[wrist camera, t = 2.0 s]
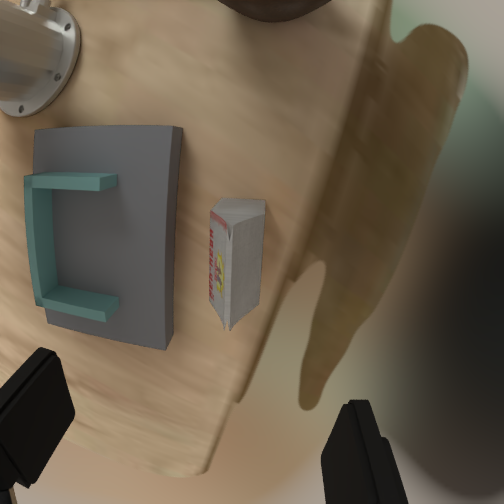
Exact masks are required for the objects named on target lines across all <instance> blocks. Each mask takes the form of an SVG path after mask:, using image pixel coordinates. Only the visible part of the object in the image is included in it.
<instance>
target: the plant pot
mask: <svg viewBox="0 0 504 504" xmlns="http://www.w3.org/2000/svg"><path fill="white" fill-rule="evenodd" d="M218 1H219V2H221V3H223V4H224V5H226V6H228V7H229V8H231V9H233V10H235V11H237V12H239V13H241V14H243V15H245V16H247V17H250V18H252V19H256V20H259V21H264V22H284V21H288V20H292V19H295V18H298V17H300V16H303V15H305V14H307V13H309V12H311V11H313V10H315V9H317V8H319V7H321V6H323V5H324V4H326V3H328V2H329V1H331V0H218Z"/></svg>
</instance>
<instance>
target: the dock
mask: <svg viewBox="0 0 504 504" xmlns="http://www.w3.org/2000/svg"><path fill="white" fill-rule="evenodd" d="M182 130H183V128H180V127H175V126H159V125H108V126H80V127H63V128H50V129H39V130H35V135H34V154H33V174H32V175H27V176H24V204H25V223H26V236H27V247H28V256H29V264H30V272H31V279H32V285H33V291H34V297H35V302H36V305H37V306H40V307H44V308H45V312H46V317H47V322H48V323H49V324H52V325H56V326H59V327H63V328H67V329H70V330H74V331H78V332H82V333H86V334H90V335H94V336H98V337H103V338H107V339H111V340H116V341H120V342H125V343H130V344H134V345H139V346H144V347H149V348H155V349H160V350H166V349H167V347H168V345H169V343H170V340H171V338H172V336H173V288H174V248H175V224H176V205H177V189H178V175H179V163H180V151H181V140H182Z"/></svg>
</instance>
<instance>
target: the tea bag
mask: <svg viewBox="0 0 504 504" xmlns="http://www.w3.org/2000/svg"><path fill="white" fill-rule="evenodd" d="M264 222H265V200H255V199H238V198H221V199H220V201H219V202H218V203H217V204H216V205H215V206H214V207H213V208H212V209H211V210H210V267H209V301H210V302H211V304H212V306H213V307H214V309H215V310H216V312H217V313H218V315H219V317H220V319H221V321H222V323H223V327H224V330H225V326H226V322H227V320H228V325H229V330H231V329H232V327H233V326H234V325H235V324H236V323H237V322H238V321H239V320H240V319H241V318H242V317H244V316H245V315H246V314H247V313H249V312H250V311H251V310H252V309H254V308H255V307H256V306H257V305H259V296H260V282H261V267H262V252H263V237H264Z"/></svg>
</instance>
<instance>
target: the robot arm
mask: <svg viewBox="0 0 504 504" xmlns="http://www.w3.org/2000/svg"><path fill="white" fill-rule="evenodd" d="M50 5H51V1H50V0H21V2H20V6H19V5H17V4H14V3H12V2H9V1H7V0H0V109H1V110H2V111H3V112H5V113H6V114H8V115H10V116H16V117H25V116H30V115H33V114H36V113H37V112H39V111H41V110H43V109H44V108H45V107H46V106H48V105H49V104H50V103H51V102H52V101H53V100H54V99H55V98H56V97H57V95H58V94H59V93H60V92H61V90H62V89H63V87H64V86H65V85H66V83H67V81H68V79H69V77H70V75H71V74H72V71H73V69H74V66H75V64H76V61H77V57H78V53H79V47H80V30H79V26H78V23H77V21H76V20H75V18H74V16H72V15H71V14H70V13H69V12H68V11H66V10H64V9H62V8H58V7H50ZM74 417H75V409H74V406H73V403H72V400H71V396H70V393H69V390H68V386H67V383H66V379H65V376H64V372H63V368H62V365H61V361H60V358H59V357H57V354H56V352H54V351H52V350H49V349H46V348H43V347H40V348H38V349H37V350H36V351H35V352H34V353H33V354H32V355H31V356H30V357H29V358H28V359H27V360H26V361H25V362H24V363H23V365H22V366H21V367H20V368H19V369H18V370H17V371H16V372H15V373H14V374H13V375H12V376H11V377H10V378H9V380H8V381H7V382H6V383H5V384H4V385H3V386H2V387H1V388H0V504H17V500H16V496H15V492H14V488H13V485H14V484H15V482H17V483H19V484H21V485H23V486H24V487H26V488H29V487H30V485H31V484H34V483H35V482H36V481H37V480H38V478H39V476H40V474H41V473H42V471H43V469H44V467H45V466H46V464H47V462H48V460H49V459H50V457H51V456H52V454H53V452H54V450H55V449H56V447H57V445H58V444H59V442H60V440H61V439H62V437H63V436H64V434H65V432H66V431H67V429H68V427H69V426H70V424H71V423H72V421H73V419H74ZM321 467H322V475H323V483H324V492H325V501H326V504H408V500H407V497H406V493H405V490H404V487H403V484H402V480H401V477H400V474H399V471H398V468H397V465H396V462H395V459H394V455H393V453H392V449H391V446H390V443H389V441H388V439H386V438H385V437H381V435H380V432H379V429H378V426H377V423H376V420H375V417H374V414H373V411H372V408H371V405H370V403H369V401H368V400H350V401H349V402H348V404H343V406H342V408H341V410H340V413H339V415H338V418H337V420H336V422H335V425H334V427H333V429H332V432H331V434H330V436H329V438H328V441H327V443H326V445H325V447H324V449H323V451H322V454H321Z"/></svg>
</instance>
